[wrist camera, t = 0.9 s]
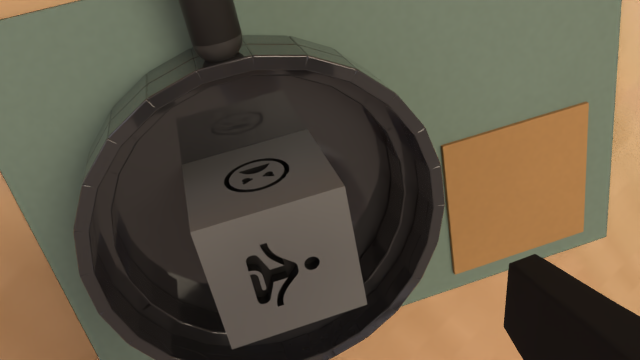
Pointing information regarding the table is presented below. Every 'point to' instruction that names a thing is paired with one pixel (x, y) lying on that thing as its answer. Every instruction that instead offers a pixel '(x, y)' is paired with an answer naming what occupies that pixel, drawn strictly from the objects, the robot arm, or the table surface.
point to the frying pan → (233, 133)
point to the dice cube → (273, 236)
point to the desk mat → (387, 65)
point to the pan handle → (212, 28)
